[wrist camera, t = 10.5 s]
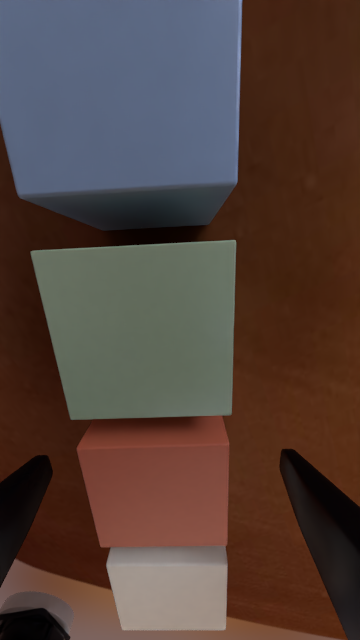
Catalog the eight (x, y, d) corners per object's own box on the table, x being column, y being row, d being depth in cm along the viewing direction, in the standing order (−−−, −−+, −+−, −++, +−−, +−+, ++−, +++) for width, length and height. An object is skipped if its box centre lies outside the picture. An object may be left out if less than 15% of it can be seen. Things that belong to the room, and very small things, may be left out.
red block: (131, 440, 11) (100, 548, 7) (121, 369, 10) (75, 448, 6) (210, 437, 11) (227, 546, 7) (209, 366, 10) (229, 444, 6)
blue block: (209, 225, 8) (238, 184, 4) (101, 231, 8) (16, 198, 4) (208, 85, 7) (249, -196, 3) (82, 94, 7) (-71, -158, 3)
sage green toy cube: (210, 348, 10) (232, 416, 5) (119, 351, 10) (69, 420, 6) (209, 251, 9) (237, 239, 4) (105, 256, 9) (28, 250, 4)
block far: (211, 506, 13) (226, 631, 9) (141, 508, 13) (121, 630, 9) (211, 451, 12) (228, 564, 7) (134, 453, 12) (105, 565, 7)
